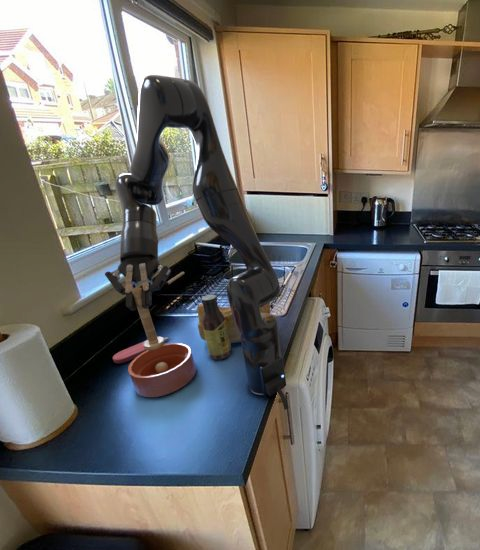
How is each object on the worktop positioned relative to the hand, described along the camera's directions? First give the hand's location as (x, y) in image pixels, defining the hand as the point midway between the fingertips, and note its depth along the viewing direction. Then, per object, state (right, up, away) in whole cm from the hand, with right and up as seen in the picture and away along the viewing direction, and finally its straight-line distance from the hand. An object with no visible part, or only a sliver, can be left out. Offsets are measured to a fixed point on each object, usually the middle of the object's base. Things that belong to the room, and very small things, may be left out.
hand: (139, 308), depth 71 cm
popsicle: (-18, -16, +26) cm, 35 cm away
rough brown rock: (+10, -13, +35) cm, 38 cm away
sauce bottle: (+8, -17, +24) cm, 31 cm away
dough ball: (-5, -19, +15) cm, 24 cm away
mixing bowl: (-2, -21, +14) cm, 26 cm away
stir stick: (-1, -10, +6) cm, 12 cm away
